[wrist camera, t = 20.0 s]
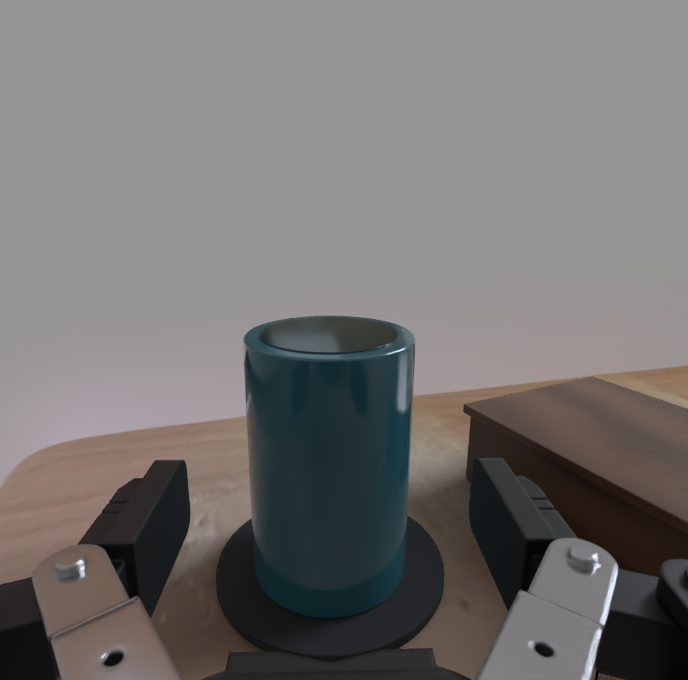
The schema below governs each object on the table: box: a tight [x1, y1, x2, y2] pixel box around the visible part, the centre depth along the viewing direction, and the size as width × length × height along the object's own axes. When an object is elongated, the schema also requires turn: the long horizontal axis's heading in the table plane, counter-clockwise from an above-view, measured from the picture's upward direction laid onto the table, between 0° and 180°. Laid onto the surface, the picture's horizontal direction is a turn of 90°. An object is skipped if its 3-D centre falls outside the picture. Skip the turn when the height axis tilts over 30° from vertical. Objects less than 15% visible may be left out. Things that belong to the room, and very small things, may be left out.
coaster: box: [216, 516, 444, 662], centre depth 21 cm, size 10×10×1 cm
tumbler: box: [243, 316, 415, 619], centre depth 20 cm, size 6×6×10 cm
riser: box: [463, 377, 688, 577], centre depth 25 cm, size 11×13×4 cm
